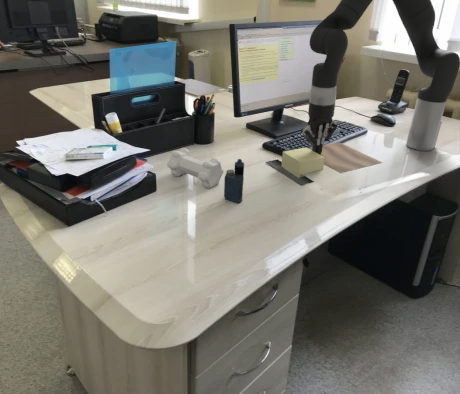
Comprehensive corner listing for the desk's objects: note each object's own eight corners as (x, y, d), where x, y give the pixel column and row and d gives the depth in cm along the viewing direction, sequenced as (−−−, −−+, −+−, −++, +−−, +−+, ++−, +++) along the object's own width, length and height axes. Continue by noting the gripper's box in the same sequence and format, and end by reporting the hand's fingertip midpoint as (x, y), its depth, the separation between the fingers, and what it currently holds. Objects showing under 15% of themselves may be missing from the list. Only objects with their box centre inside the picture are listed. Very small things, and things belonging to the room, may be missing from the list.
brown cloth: (338, 146, 152) (339, 142, 151) (381, 166, 137) (382, 162, 136) (298, 154, 144) (298, 150, 143) (339, 177, 129) (340, 173, 128)
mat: (300, 155, 143) (300, 154, 143) (337, 176, 129) (337, 175, 129) (265, 162, 137) (265, 161, 137) (300, 185, 123) (301, 184, 123)
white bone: (223, 184, 123) (226, 158, 120) (204, 192, 117) (206, 164, 114) (185, 170, 131) (186, 144, 128) (165, 177, 125) (166, 150, 121)
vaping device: (239, 205, 112) (241, 162, 106) (222, 199, 114) (223, 157, 108) (244, 201, 114) (246, 159, 108) (227, 195, 116) (228, 154, 110)
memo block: (304, 161, 138) (306, 147, 135) (322, 172, 131) (324, 157, 128) (281, 166, 134) (282, 151, 131) (298, 177, 127) (300, 162, 124)
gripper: (312, 107, 120) (307, 163, 128) (348, 100, 126) (340, 154, 134) (296, 100, 125) (292, 154, 134) (330, 94, 131) (325, 146, 140)
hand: (316, 154), depth 134 cm, fingers closed
